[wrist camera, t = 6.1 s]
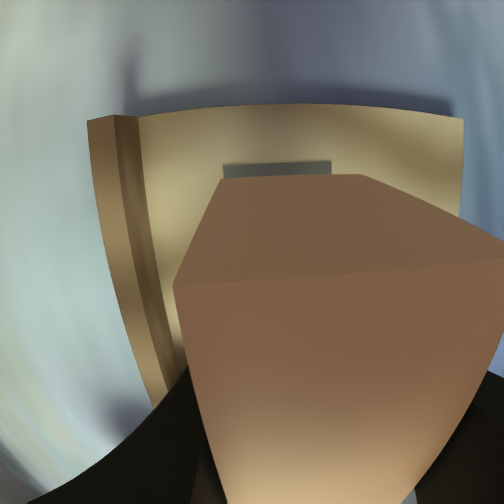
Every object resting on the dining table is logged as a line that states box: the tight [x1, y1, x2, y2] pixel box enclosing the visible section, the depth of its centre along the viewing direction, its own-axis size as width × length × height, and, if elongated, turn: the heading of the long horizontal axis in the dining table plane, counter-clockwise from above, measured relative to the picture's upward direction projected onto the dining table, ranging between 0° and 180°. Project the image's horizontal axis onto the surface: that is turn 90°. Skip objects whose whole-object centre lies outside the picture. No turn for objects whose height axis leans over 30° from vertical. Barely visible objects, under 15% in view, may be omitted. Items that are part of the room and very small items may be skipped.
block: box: [172, 174, 504, 504], centre depth 8 cm, size 4×9×7 cm, turn 3°
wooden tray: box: [87, 104, 463, 409], centre depth 15 cm, size 16×18×4 cm
